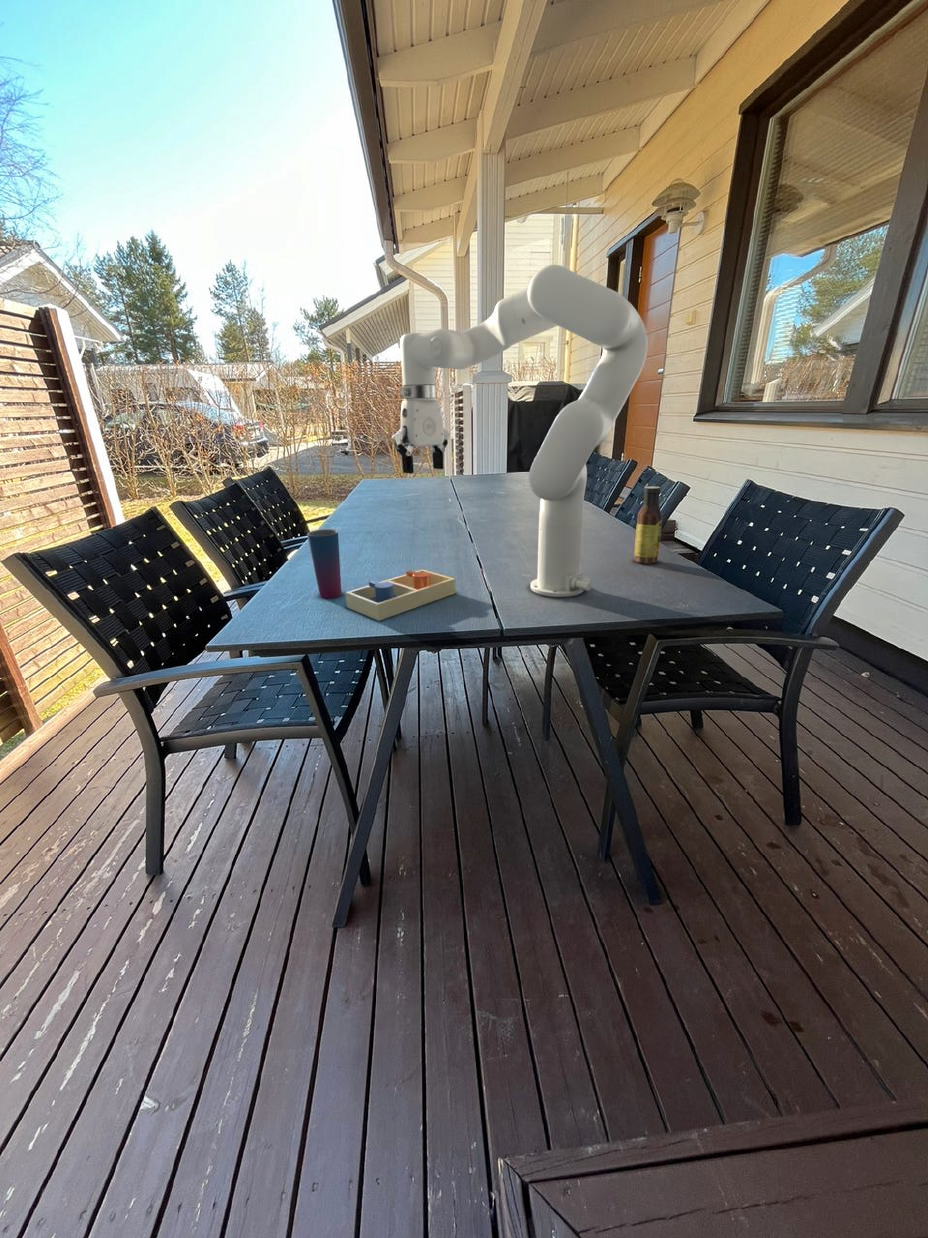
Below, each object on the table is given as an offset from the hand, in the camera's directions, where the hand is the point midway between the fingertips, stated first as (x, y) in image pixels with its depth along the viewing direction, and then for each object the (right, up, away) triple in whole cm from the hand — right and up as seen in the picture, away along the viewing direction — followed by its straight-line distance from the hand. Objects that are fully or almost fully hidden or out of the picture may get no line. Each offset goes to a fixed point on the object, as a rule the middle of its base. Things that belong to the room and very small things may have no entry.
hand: (423, 470), depth 127 cm
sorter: (-4, -32, -8) cm, 33 cm away
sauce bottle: (+59, -21, +16) cm, 65 cm away
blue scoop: (-8, -32, -11) cm, 35 cm away
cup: (-22, -30, -3) cm, 38 cm away
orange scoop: (-1, -29, -4) cm, 30 cm away
